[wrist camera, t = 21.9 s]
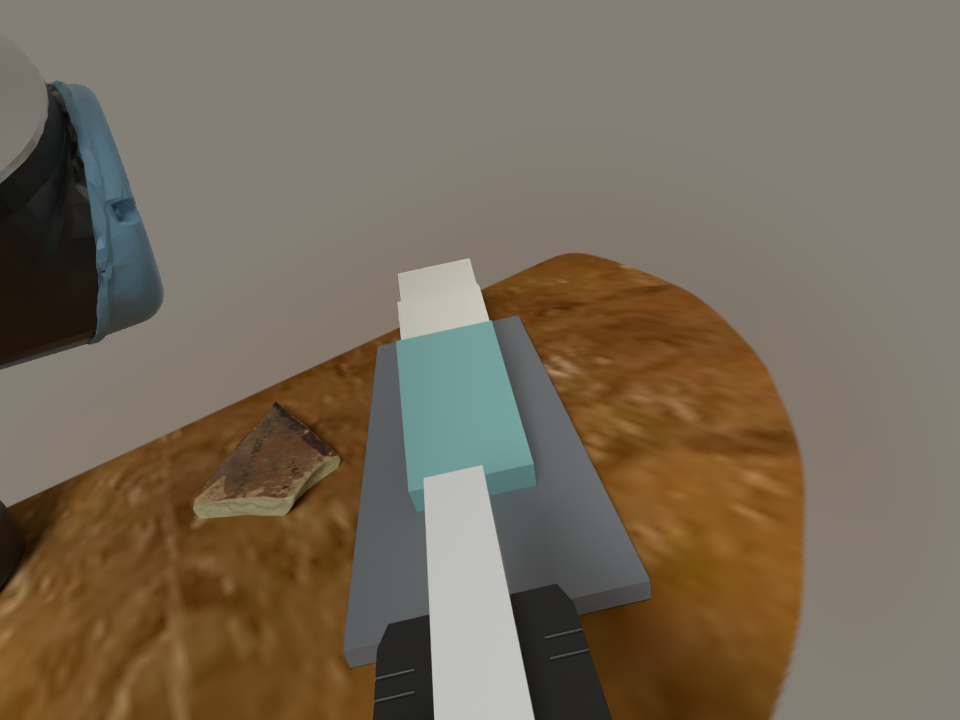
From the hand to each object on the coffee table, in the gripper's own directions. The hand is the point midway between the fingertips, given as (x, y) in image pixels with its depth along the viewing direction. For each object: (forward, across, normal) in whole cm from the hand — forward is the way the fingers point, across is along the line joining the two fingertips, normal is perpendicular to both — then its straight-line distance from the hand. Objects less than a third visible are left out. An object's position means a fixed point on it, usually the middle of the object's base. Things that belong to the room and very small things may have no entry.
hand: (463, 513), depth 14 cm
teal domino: (+10, 0, -8) cm, 12 cm away
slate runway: (+17, 0, -9) cm, 20 cm away
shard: (+18, -13, -10) cm, 25 cm away
